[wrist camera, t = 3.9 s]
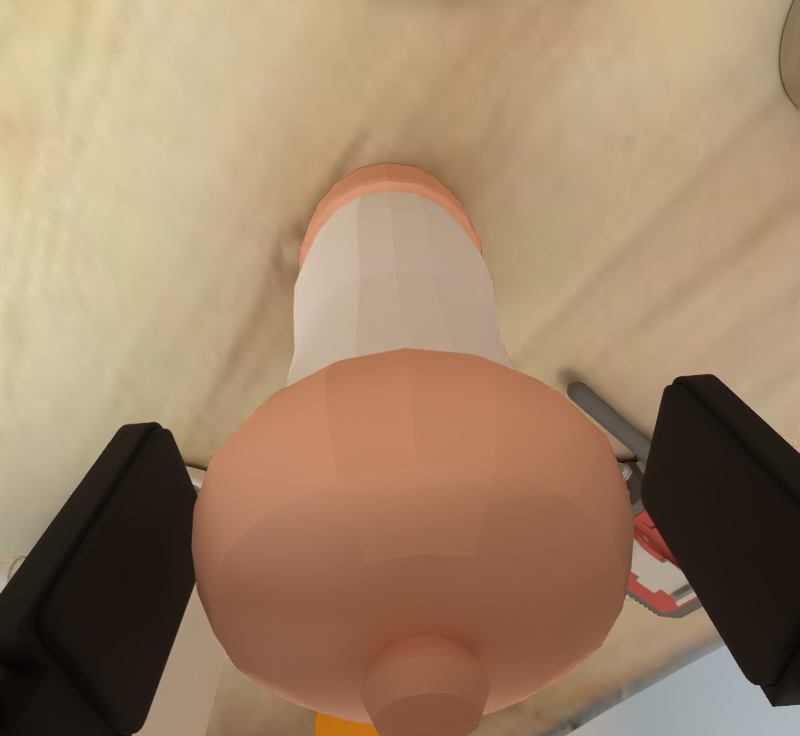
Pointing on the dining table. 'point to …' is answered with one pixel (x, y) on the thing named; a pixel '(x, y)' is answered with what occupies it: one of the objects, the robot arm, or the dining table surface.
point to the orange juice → (342, 727)
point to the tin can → (791, 54)
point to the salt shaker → (408, 487)
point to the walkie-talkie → (642, 521)
